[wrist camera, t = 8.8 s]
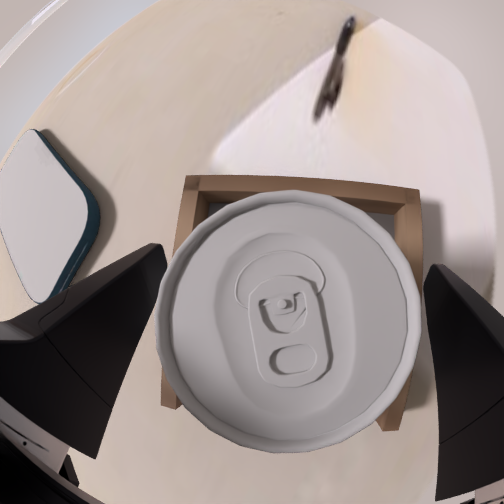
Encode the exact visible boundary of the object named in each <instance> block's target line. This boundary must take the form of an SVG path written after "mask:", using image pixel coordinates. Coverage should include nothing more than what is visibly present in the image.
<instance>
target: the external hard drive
mask: <svg viewBox="0 0 504 504" xmlns="http://www.w3.org/2000/svg"><path fill="white" fill-rule="evenodd" d="M99 225H100V212H99V207H98V204H97V201H96V199H95V198H94V196H93V194H92V193H91V192H90V190H89V189H88V188H87V187H86V186H85V185H84V184H83V182H82V181H81V180H80V179H79V178H78V177H77V176H76V175H75V173H74V172H73V171H72V170H71V169H70V168H69V166H68V165H67V164H66V163H65V162H64V161H63V159H62V158H61V157H60V156H59V155H58V153H57V152H56V151H55V150H54V148H53V147H52V146H51V145H50V144H49V142H48V141H47V140H46V139H45V137H44V136H43V135H42V134H41V133H40V132H39V131H37V130H35V129H30V130H28V131H26V132H25V133H24V134H23V135H22V136H21V138H20V139H19V140H18V142H17V143H16V145H15V147H14V148H13V150H12V152H11V153H10V155H9V157H8V159H7V160H6V162H5V164H4V166H3V168H2V169H1V171H0V230H1V233H2V236H3V239H4V242H5V244H6V247H7V250H8V252H9V255H10V257H11V260H12V262H13V264H14V267H15V269H16V271H17V274H18V276H19V278H20V280H21V282H22V284H23V287H24V289H25V290H26V292H27V294H28V295H29V297H30V298H31V299H32V300H33V301H34V302H35V303H37V304H41V303H43V302H44V301H46V300H48V299H50V298H52V297H53V296H55V295H57V294H59V293H60V292H62V291H64V290H65V289H67V288H68V286H69V284H70V282H71V280H72V279H73V277H74V275H75V273H76V272H77V270H78V268H79V266H80V265H81V263H82V261H83V259H84V258H85V256H86V254H87V253H88V251H89V249H90V247H91V246H92V244H93V242H94V240H95V238H96V235H97V233H98V229H99Z"/></svg>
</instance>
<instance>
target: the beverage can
mask: <svg viewBox="0 0 504 504" xmlns="http://www.w3.org/2000/svg"><path fill="white" fill-rule="evenodd" d="M154 318H155V336H156V349H157V352H158V355H159V358H160V361H161V364H162V367H163V370H164V373H165V376H166V379H167V381H168V382H169V384H170V386H171V387H172V389H173V390H174V392H175V393H176V395H177V396H178V398H179V399H180V401H181V403H182V404H183V405H184V407H185V408H186V409H187V410H188V411H189V412H190V413H191V414H192V415H193V416H195V417H196V418H197V419H198V420H199V421H200V422H201V423H202V424H203V425H205V426H206V427H207V428H208V429H209V430H211V431H213V432H214V433H216V434H218V435H220V436H222V437H224V438H226V439H228V440H230V441H231V442H233V443H235V444H237V445H240V446H243V447H247V448H252V449H256V450H260V451H265V452H270V453H300V452H310V451H314V450H317V449H321V448H324V447H328V446H331V445H334V444H337V443H340V442H343V441H344V440H346V439H348V438H350V437H351V436H353V435H355V434H356V433H358V432H360V431H361V430H363V429H364V428H366V427H368V426H369V425H371V424H372V423H373V422H374V421H375V420H376V419H377V418H378V417H379V416H380V415H381V414H382V413H383V412H384V411H385V410H386V409H387V408H388V407H389V406H390V405H391V403H392V402H393V401H394V400H395V399H396V398H397V396H398V395H399V393H400V391H401V389H402V388H403V386H404V384H405V382H406V380H407V378H408V377H409V375H410V373H411V371H412V369H413V367H414V363H415V360H416V355H417V351H418V347H419V343H420V338H421V333H422V321H421V299H420V294H419V291H418V287H417V284H416V281H415V278H414V275H413V272H412V269H411V267H410V264H409V262H408V260H407V259H406V257H405V256H404V254H403V252H402V251H401V249H400V248H399V247H398V245H397V244H396V242H395V241H394V239H393V238H392V236H391V235H390V233H389V232H387V231H386V230H385V229H384V228H383V227H382V226H380V225H379V224H378V223H377V222H376V221H374V220H373V219H372V218H371V217H370V216H368V215H367V214H366V213H365V212H364V211H362V210H360V209H358V208H356V207H354V206H352V205H350V204H348V203H346V202H343V201H341V200H339V199H337V198H335V197H332V196H330V195H325V194H319V193H313V192H307V191H300V190H285V191H275V192H265V193H258V194H256V195H253V196H250V197H247V198H245V199H242V200H239V201H237V202H234V203H231V204H229V205H226V206H225V207H223V208H222V209H221V210H219V211H218V212H216V213H215V214H213V215H212V216H210V217H209V218H208V219H206V220H205V221H203V222H202V223H200V224H199V225H198V226H197V227H196V228H195V229H194V230H193V232H192V233H191V234H190V235H189V236H188V237H187V239H186V240H185V241H184V242H183V243H182V245H181V246H180V247H179V248H178V249H177V250H176V252H175V254H174V256H173V258H172V260H171V262H170V264H169V266H168V268H167V270H166V272H165V274H164V276H163V278H162V281H161V284H160V288H159V293H158V298H157V303H156V309H155V314H154Z"/></svg>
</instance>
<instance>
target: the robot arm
mask: <svg viewBox="0 0 504 504" xmlns="http://www.w3.org/2000/svg"><path fill="white" fill-rule="evenodd" d="M166 270H167V260H166V257H165V253H164V249H163V246H162V245H161V244H156V243H150V244H148V245H146V246H144V247H142V248H140V249H138V250H136V251H134V252H132V253H130V254H128V255H127V256H125V257H123V258H121V259H119V260H117V261H115V262H114V263H112V264H110V265H108V266H106V267H104V268H103V269H101V270H99V271H97V272H95V273H93V274H92V275H90V276H88V277H86V278H85V279H83V280H81V281H79V282H78V283H76V284H74V285H72V286H71V287H70V288H67V289H65V290H64V291H62V292H60V293H59V294H57V295H55V296H53V297H52V298H50V299H48V300H46V301H44V302H43V303H41V304H39V305H37V306H35V307H33V308H31V309H29V310H28V311H26V312H24V313H22V314H20V315H18V316H17V317H15V318H13V319H11V320H7V321H3V322H0V504H104V503H103V502H101V501H99V500H97V499H96V498H94V497H92V496H91V495H89V494H87V493H86V492H84V491H82V490H81V489H79V488H78V485H79V481H78V478H77V475H76V473H75V470H74V467H73V464H72V461H71V458H70V455H68V454H67V452H68V450H69V448H70V447H72V448H74V449H76V450H77V451H79V452H81V453H83V454H85V455H87V456H89V457H91V458H93V459H96V457H97V454H98V451H99V448H100V445H101V442H102V439H103V436H104V433H105V430H106V427H107V424H108V421H109V418H110V415H111V412H112V408H113V406H114V404H115V401H116V398H117V395H118V393H119V390H120V387H121V385H122V382H123V380H124V377H125V375H126V372H127V369H128V367H129V364H130V362H131V360H132V357H133V355H134V352H135V350H136V347H137V345H138V343H139V340H140V338H141V336H142V333H143V331H144V329H145V326H146V324H147V322H148V320H149V317H150V315H151V313H152V311H153V308H154V306H155V303H156V300H157V297H158V293H159V288H160V284H161V281H162V278H163V276H164V274H165V272H166ZM423 291H424V299H425V306H426V315H427V325H428V332H429V338H430V344H431V350H432V356H433V363H434V371H435V380H436V390H437V402H438V421H439V444H440V445H439V453H438V474H437V486H436V496H435V501H440V500H444V499H447V498H451V497H454V496H458V495H461V494H465V493H467V492H471V491H474V490H475V498H473V499H470V500H468V501H465V502H463V503H460V504H504V317H503V316H502V315H501V314H500V313H499V312H498V311H497V310H496V309H495V308H494V307H493V306H491V305H490V304H489V303H488V302H487V301H486V300H485V299H484V298H483V297H482V296H480V295H479V294H478V293H477V292H476V291H475V290H474V289H472V288H471V287H470V286H469V285H468V284H467V283H465V282H464V281H463V280H462V279H461V278H459V277H458V276H457V275H456V274H455V273H453V272H452V271H451V270H450V269H448V268H447V267H446V266H445V265H443V264H433V265H432V266H431V267H430V269H429V272H428V275H427V277H426V280H425V282H424V286H423Z"/></svg>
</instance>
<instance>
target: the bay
mask: <svg viewBox="0 0 504 504" xmlns="http://www.w3.org/2000/svg"><path fill="white" fill-rule="evenodd" d="M285 190H300V191H307V192H313V193H319V194H325V195H330V196H332V197H335V198H337V199H339V200H341V201H343V202H346V203H348V204H350V205H352V206H354V207H356V208H358V209H360V210H362V211H364V212H365V213H366V214H367V215H368V216H370V217H371V218H372V219H373V220H374V221H376V222H377V223H378V224H379V225H380V226H382V227H383V228H384V229H385V230H386V231H387V232H389V233H390V235H391V236H392V238H393V239H394V241H395V242H396V244H397V245H398V247H399V248H400V249H401V251H402V252H403V254H404V256H405V257H406V259H407V260H408V262H409V264H410V267H411V269H412V272H413V275H414V278H415V281H416V284H417V287H418V291H419V294H420V299H422V279H423V237H422V217H421V204H420V193H419V190H418V189H411V188H404V187H397V186H389V185H382V184H373V183H364V182H355V181H344V180H333V179H320V178H304V177H286V176H258V175H189V176H186V179H185V184H184V189H183V194H182V200H181V205H180V211H179V217H178V223H177V229H176V235H175V242H174V249H173V256H174V254H175V252H176V250H177V249H178V248H179V247H180V246H181V245H182V243H183V242H184V241H185V240H186V239H187V237H188V236H189V235H190V234H191V233H192V232H193V230H194V229H195V228H196V227H197V226H198V225H199V224H200V223H202V222H203V221H205V220H206V219H208V218H209V217H210V216H212V215H213V214H215V213H216V212H218V211H219V210H221V209H222V208H223V207H225V206H226V205H229V204H231V203H234V202H237V201H239V200H242V199H245V198H247V197H250V196H253V195H256V194H258V193H265V192H275V191H285ZM173 256H172V258H173ZM412 372H413V369H412V371H411V373H410V375H409V377H408V378H407V380H406V382H405V384H404V386H403V388H402V389H401V391H400V393H399V395H398V396H397V398H396V399H395V400H394V401H393V402H392V403H391V405H390V406H389V407H388V408H387V409H386V410H385V411H384V412H383V413H382V414H381V415H380V416H379V417H378V418H377V419H376V421H377V423H378V424H379V426H380V428H381V429H382V431H395V430H399V426H400V423H401V419H402V416H403V412H404V408H405V404H406V400H407V396H408V391H409V387H410V382H411V377H412ZM161 405H162V406H165V407H169V408H172V409H175V410H176V409H177V408H178V407H180V406H181V405H182V403H181V401H180V399H179V398H178V396H177V395H176V393H175V392H174V390H173V389H172V387H171V386H170V384H169V382H168V381H167V379H166V376H165V373H164V370H163V367H162V380H161Z"/></svg>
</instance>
